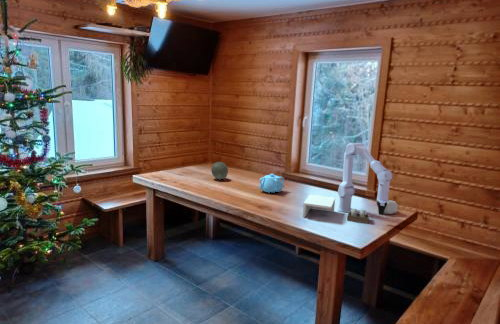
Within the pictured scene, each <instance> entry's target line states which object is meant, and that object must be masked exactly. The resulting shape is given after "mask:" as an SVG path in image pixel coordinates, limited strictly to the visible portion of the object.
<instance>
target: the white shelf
mask: <svg viewBox="0 0 500 324" xmlns="http://www.w3.org/2000/svg"><path fill="white" fill-rule="evenodd" d="M335 201H336V198H335V197H330V196H324V195H323V196H322V195H314V194H309V195H308V196H307V198H306V199H305V201H304V202H303V204H302V218H306V216H307V214H308V213H309V211H310V210H312V209H313V210H317V211H319V210H320V211H323V212H324V211H325V212H331V213H332V212H333V213H334V212H335V203H336V202H335Z"/></svg>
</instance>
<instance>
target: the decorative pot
mask: <svg viewBox="0 0 500 324" xmlns="http://www.w3.org/2000/svg"><path fill="white" fill-rule="evenodd" d="M284 181H285V179H284V177H283V176H279V175H275V173H270V174H266V175H264V176H263V177H260V178H259V184H260V185H259V186H258V188H259V189H261V191H263V192H265V193H267V192H268V193H267V194H271V193H275V192H279V193H280V192H281V191H282V190H283V188H284V187H285V185H284ZM270 192H271V193H270Z"/></svg>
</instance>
